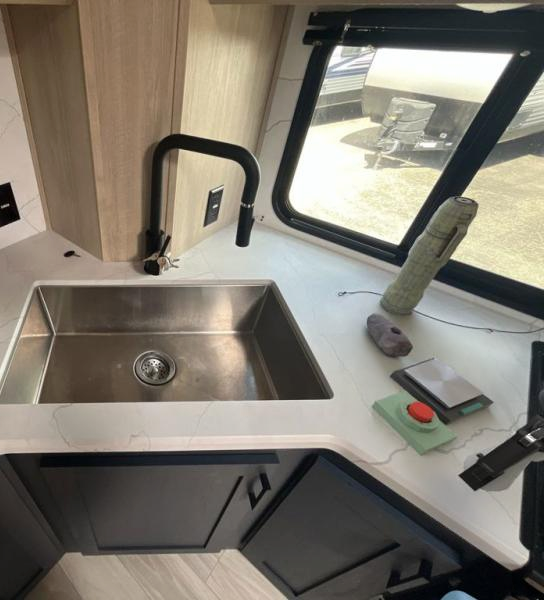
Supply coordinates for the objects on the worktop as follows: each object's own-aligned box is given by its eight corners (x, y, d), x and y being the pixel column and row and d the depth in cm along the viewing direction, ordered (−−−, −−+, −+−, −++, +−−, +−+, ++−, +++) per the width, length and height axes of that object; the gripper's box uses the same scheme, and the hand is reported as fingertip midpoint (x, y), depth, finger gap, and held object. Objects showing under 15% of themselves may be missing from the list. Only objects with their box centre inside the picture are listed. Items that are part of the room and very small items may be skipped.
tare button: (434, 419, 68) (438, 415, 67) (420, 425, 67) (425, 420, 66) (416, 403, 71) (420, 399, 70) (402, 409, 70) (407, 404, 69)
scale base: (488, 407, 75) (496, 400, 73) (445, 425, 71) (452, 419, 69) (429, 362, 85) (435, 355, 83) (389, 376, 81) (394, 370, 80)
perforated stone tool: (357, 323, 96) (367, 305, 92) (374, 323, 96) (385, 305, 92) (385, 362, 85) (398, 344, 80) (405, 362, 85) (419, 344, 80)
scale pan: (481, 395, 74) (484, 393, 73) (448, 409, 71) (450, 407, 71) (434, 360, 82) (436, 358, 81) (402, 371, 79) (404, 369, 79)
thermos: (391, 318, 98) (464, 209, 76) (371, 294, 107) (431, 191, 85) (421, 319, 98) (502, 210, 76) (398, 295, 107) (465, 191, 85)
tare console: (451, 441, 68) (463, 431, 66) (420, 455, 66) (431, 446, 63) (400, 395, 77) (408, 385, 74) (371, 406, 75) (379, 396, 72)
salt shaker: (448, 460, 59) (498, 422, 50) (480, 461, 58) (535, 423, 50) (473, 495, 54) (532, 459, 46) (508, 497, 54) (573, 461, 46)
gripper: (602, 358, 46) (492, 439, 61) (518, 393, 42) (420, 473, 56) (683, 401, 41) (541, 479, 55) (597, 447, 36) (466, 520, 50)
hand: (480, 476), depth 56 cm, fingers closed on salt shaker, 6 cm apart
